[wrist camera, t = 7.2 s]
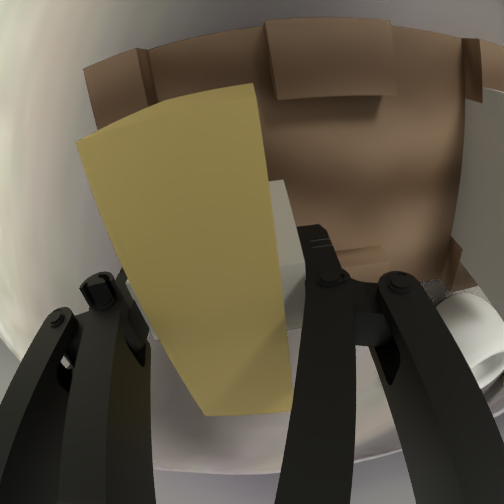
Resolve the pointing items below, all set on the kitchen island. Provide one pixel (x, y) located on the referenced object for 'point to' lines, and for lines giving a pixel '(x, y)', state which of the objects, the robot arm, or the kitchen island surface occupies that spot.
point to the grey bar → (483, 196)
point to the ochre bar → (200, 242)
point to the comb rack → (338, 125)
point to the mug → (476, 334)
